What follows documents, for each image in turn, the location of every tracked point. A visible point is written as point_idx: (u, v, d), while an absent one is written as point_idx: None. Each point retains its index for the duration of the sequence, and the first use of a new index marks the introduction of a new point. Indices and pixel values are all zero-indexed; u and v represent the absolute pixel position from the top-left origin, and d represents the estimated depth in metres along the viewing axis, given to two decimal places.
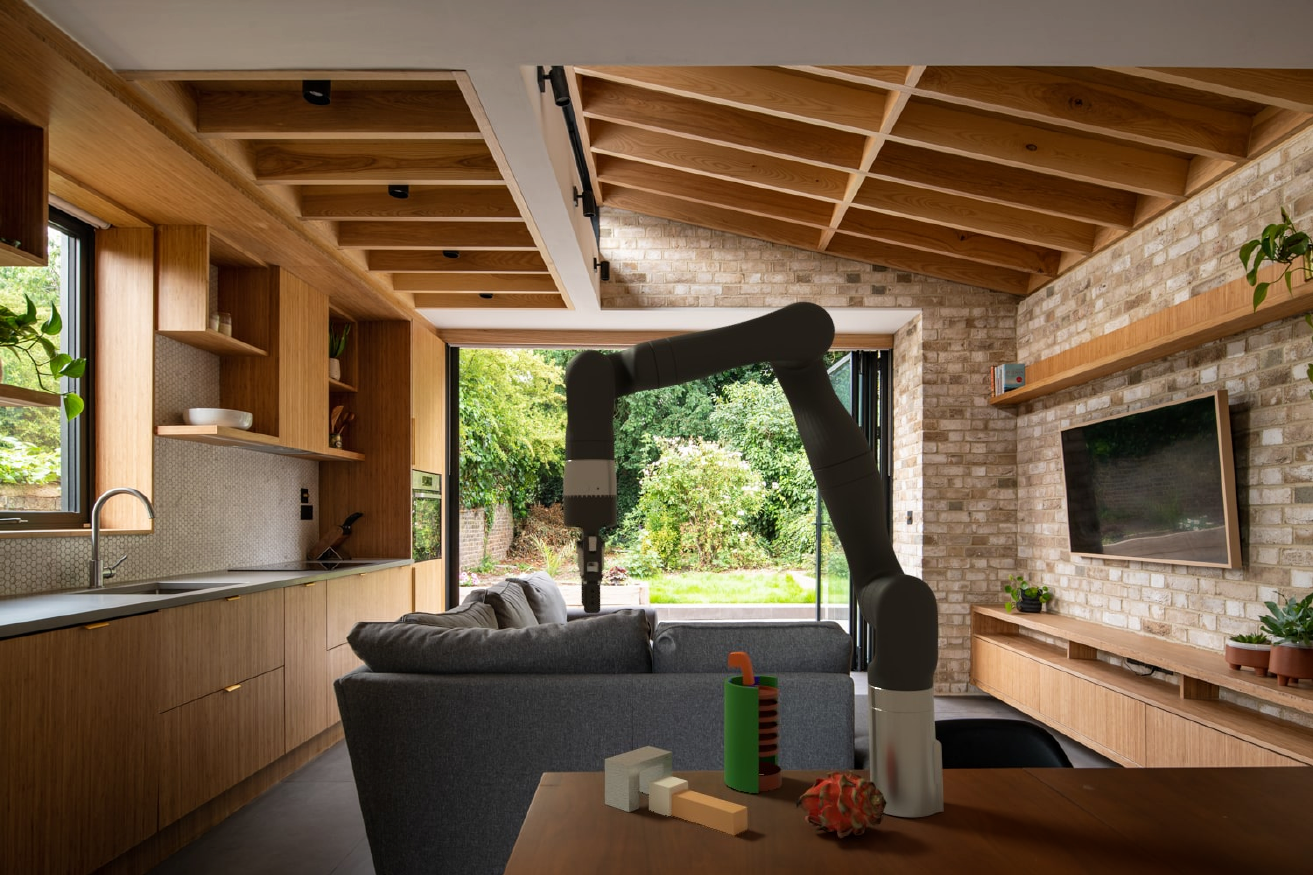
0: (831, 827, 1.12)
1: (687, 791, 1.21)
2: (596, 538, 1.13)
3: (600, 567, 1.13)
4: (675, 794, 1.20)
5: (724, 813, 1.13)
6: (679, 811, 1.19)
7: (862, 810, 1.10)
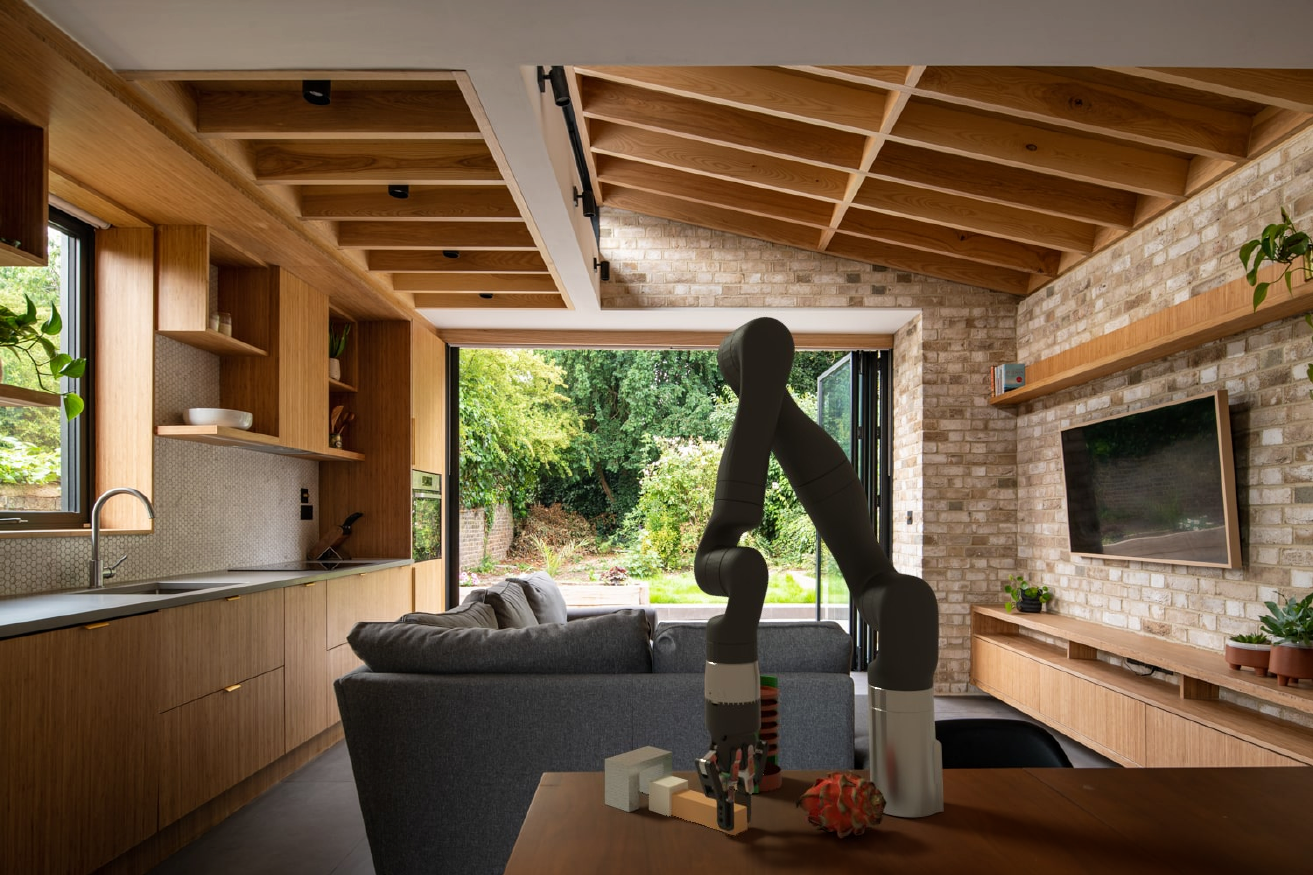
0: (831, 827, 1.12)
1: (687, 791, 1.21)
2: None
3: None
4: (675, 793, 1.20)
5: None
6: (679, 810, 1.19)
7: (862, 810, 1.10)
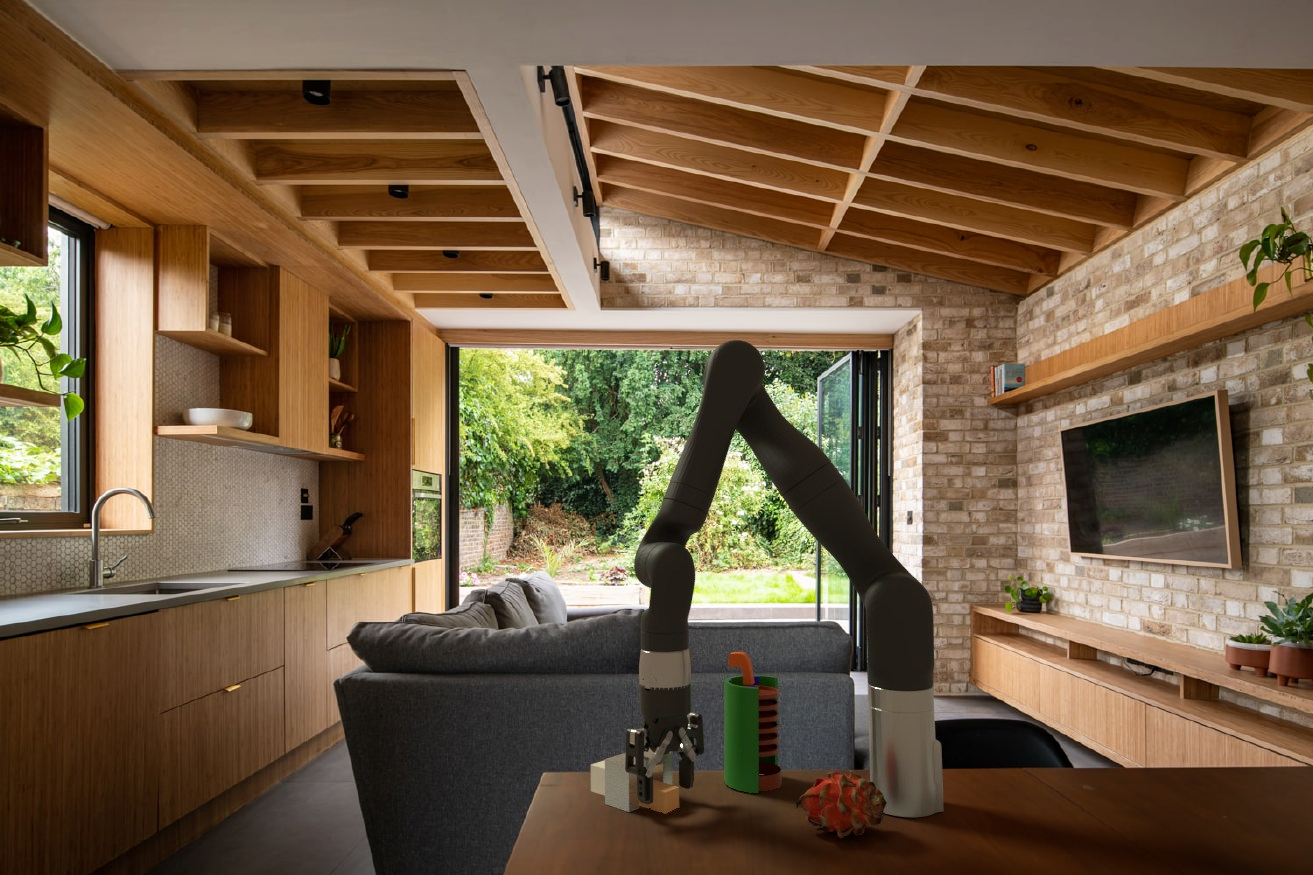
0: (831, 827, 1.12)
1: None
2: None
3: None
4: None
5: (657, 792, 1.22)
6: None
7: (862, 810, 1.10)
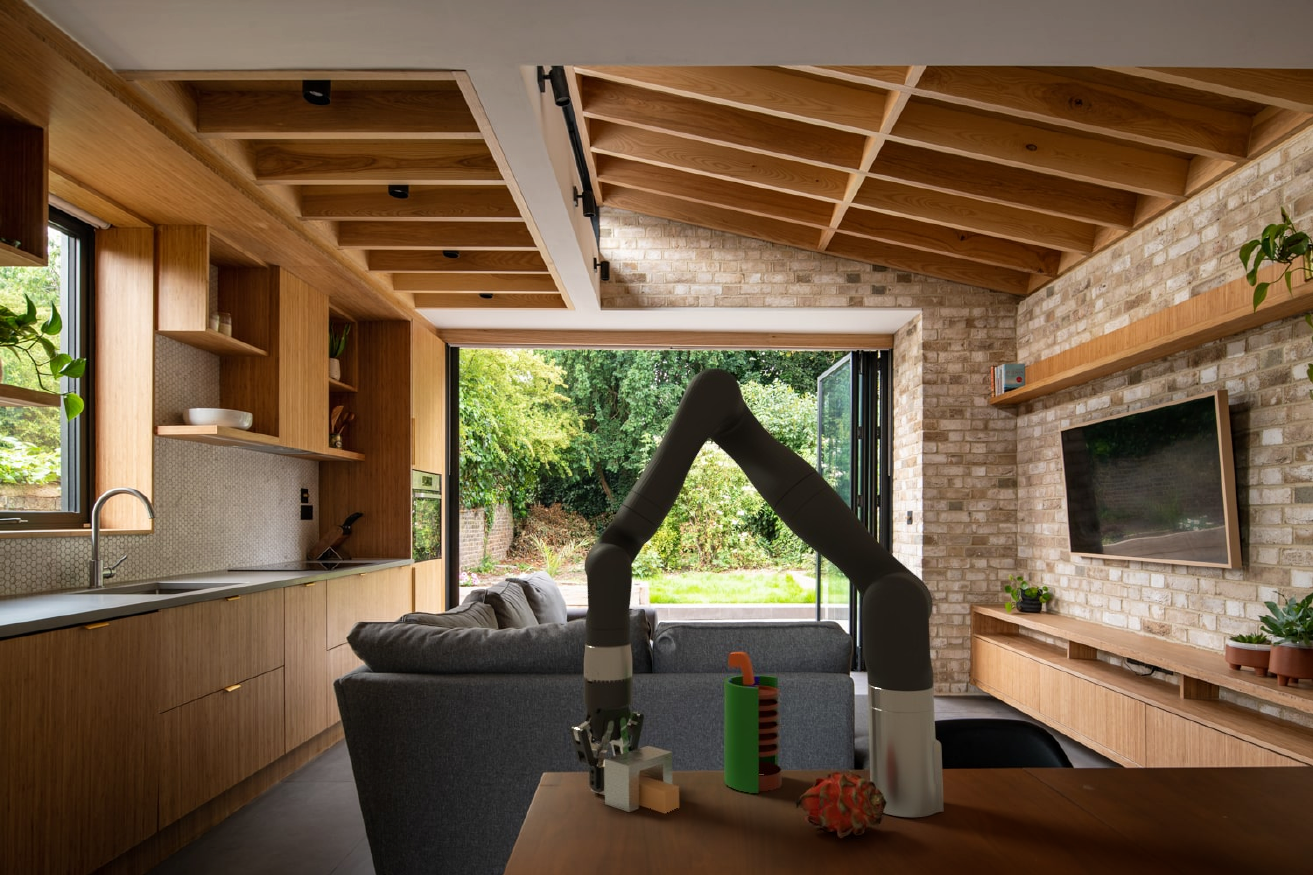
0: (831, 827, 1.12)
1: None
2: None
3: (629, 739, 1.36)
4: None
5: (657, 792, 1.22)
6: None
7: (862, 810, 1.10)
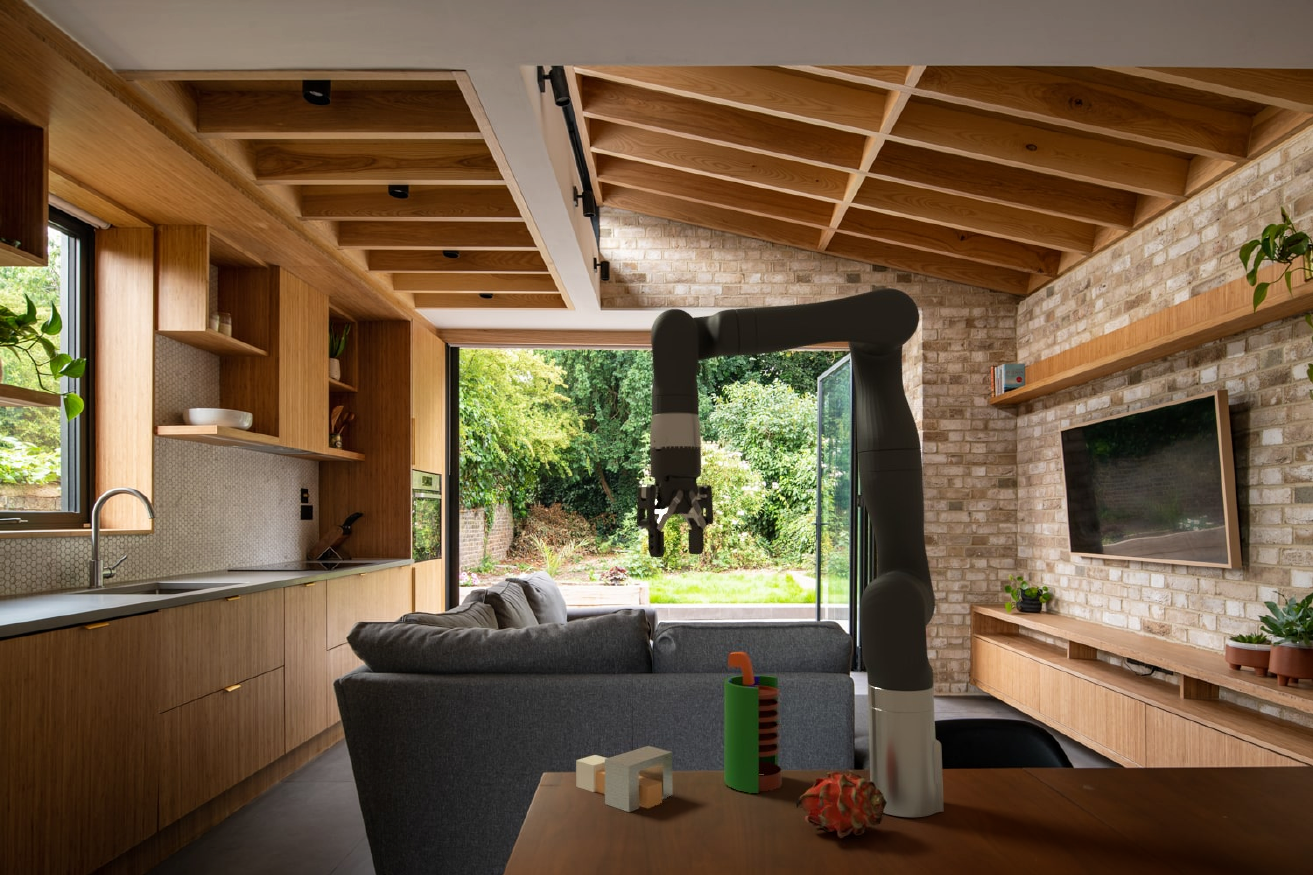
0: (831, 827, 1.12)
1: None
2: None
3: (702, 512, 1.32)
4: (599, 771, 1.31)
5: (640, 787, 1.24)
6: (602, 786, 1.29)
7: (862, 810, 1.10)
